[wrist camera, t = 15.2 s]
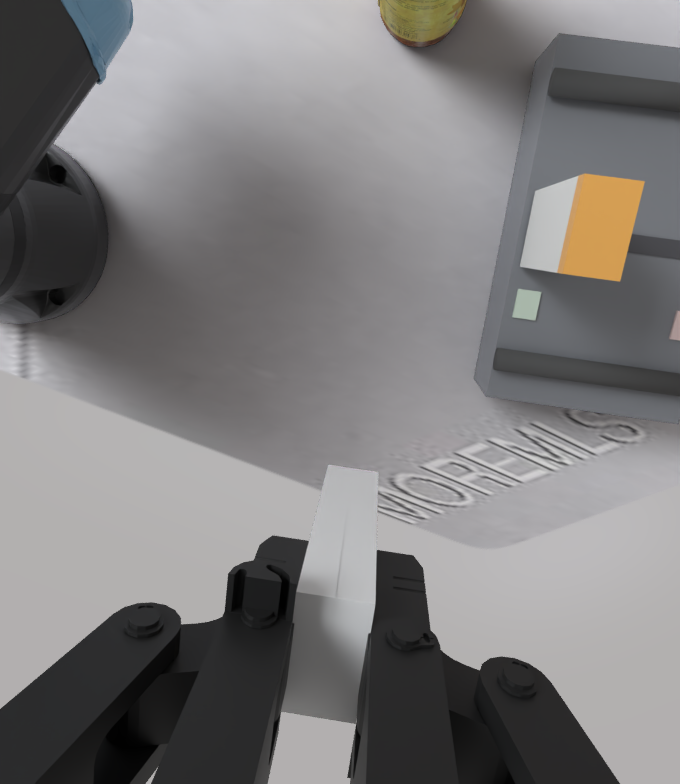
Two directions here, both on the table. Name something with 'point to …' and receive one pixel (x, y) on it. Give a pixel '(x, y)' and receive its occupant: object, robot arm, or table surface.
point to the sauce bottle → (420, 19)
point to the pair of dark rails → (586, 371)
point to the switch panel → (645, 252)
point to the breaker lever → (582, 226)
